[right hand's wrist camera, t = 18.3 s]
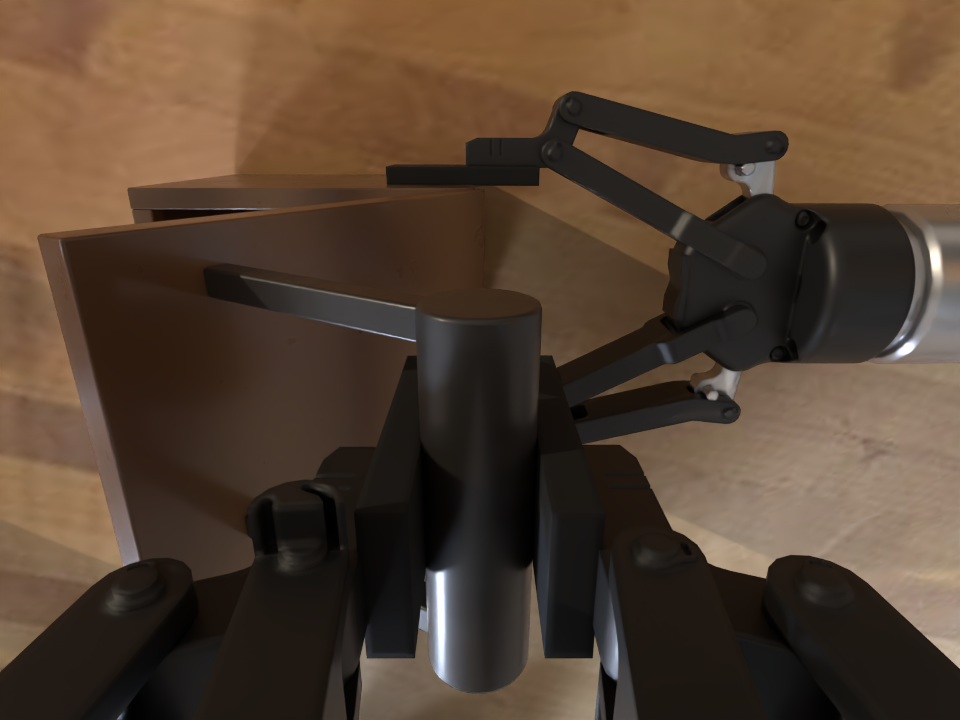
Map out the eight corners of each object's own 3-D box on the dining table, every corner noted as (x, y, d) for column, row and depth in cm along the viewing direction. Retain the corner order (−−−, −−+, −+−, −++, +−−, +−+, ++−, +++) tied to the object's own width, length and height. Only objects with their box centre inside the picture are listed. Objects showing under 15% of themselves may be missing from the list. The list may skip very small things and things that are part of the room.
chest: (254, 331, 36) (170, 402, 26) (232, 174, 33) (126, 187, 23) (474, 331, 36) (474, 402, 26) (474, 174, 33) (473, 188, 23)
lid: (134, 613, 14) (434, 841, 10) (34, 233, 11) (413, 300, 6) (464, 404, 26) (674, 462, 21) (463, 188, 23) (709, 200, 18)
